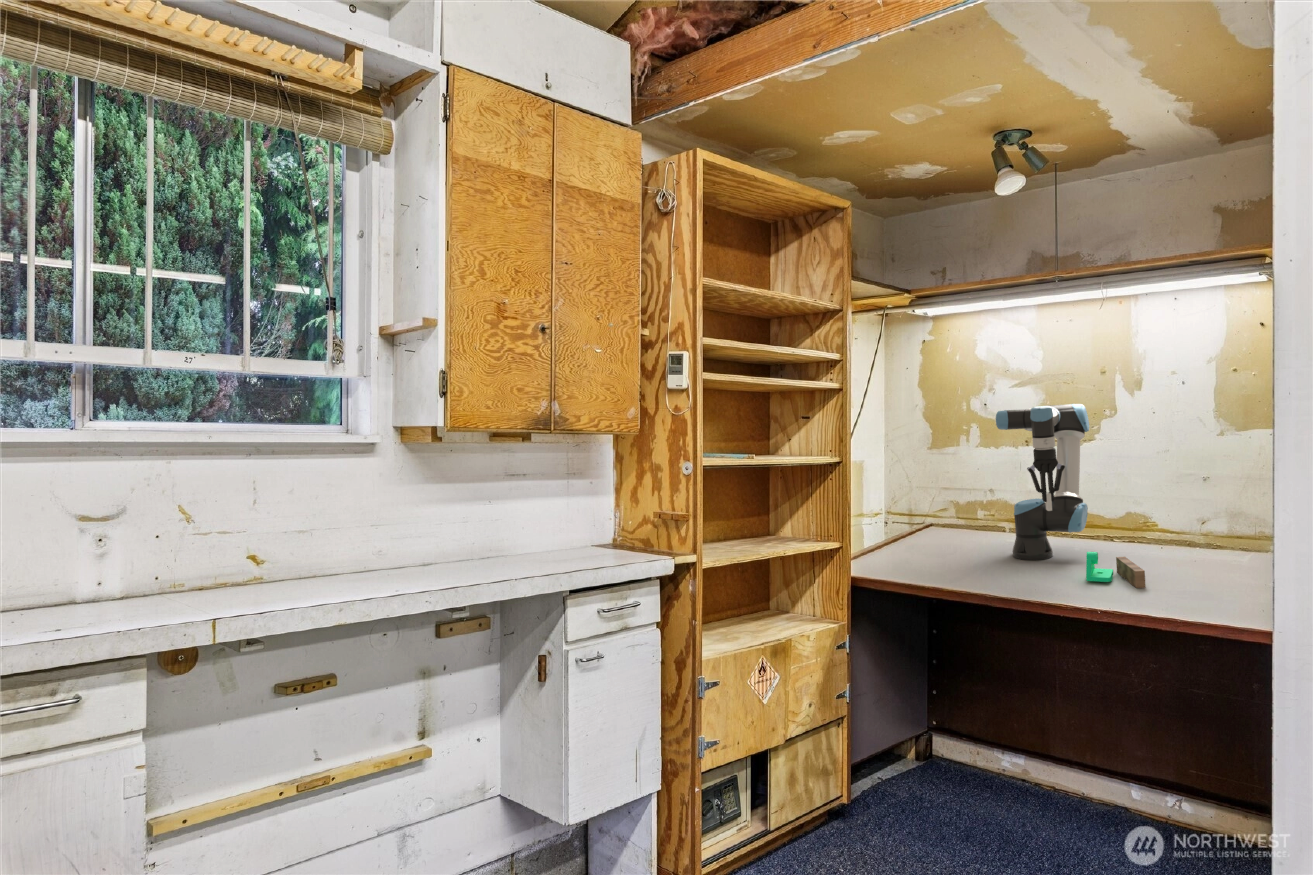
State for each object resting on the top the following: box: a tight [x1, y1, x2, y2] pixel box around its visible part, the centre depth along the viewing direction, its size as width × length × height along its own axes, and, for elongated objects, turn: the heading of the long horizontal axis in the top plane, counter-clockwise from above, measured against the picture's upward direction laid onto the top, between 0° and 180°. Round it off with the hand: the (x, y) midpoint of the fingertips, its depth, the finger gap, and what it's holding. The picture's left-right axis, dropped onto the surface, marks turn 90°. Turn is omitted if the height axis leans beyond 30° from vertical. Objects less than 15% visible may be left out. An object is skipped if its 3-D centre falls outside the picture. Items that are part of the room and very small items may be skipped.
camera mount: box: [1085, 551, 1114, 583], centre depth 302 cm, size 12×8×10 cm, turn 146°
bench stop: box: [1115, 556, 1146, 589], centre depth 298 cm, size 20×3×6 cm, turn 168°
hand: (1049, 509), depth 310 cm, fingers closed
